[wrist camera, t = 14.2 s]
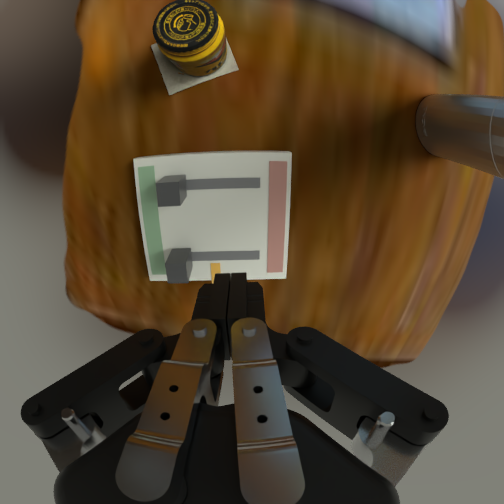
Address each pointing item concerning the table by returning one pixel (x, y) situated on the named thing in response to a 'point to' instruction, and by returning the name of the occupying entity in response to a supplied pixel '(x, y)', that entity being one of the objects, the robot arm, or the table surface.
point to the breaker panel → (218, 212)
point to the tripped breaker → (179, 265)
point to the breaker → (171, 190)
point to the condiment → (190, 44)
